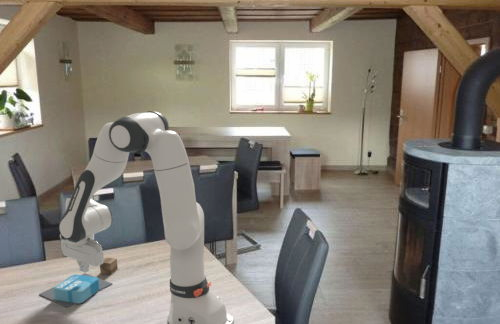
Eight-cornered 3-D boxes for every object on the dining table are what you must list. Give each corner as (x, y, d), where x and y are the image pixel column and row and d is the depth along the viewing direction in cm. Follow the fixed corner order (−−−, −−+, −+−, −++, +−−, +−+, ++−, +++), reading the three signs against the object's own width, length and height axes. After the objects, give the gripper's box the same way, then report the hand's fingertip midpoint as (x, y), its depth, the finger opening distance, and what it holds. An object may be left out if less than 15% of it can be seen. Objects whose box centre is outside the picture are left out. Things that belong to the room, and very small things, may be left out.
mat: (112, 284, 165) (112, 283, 165) (66, 307, 149) (66, 306, 148) (85, 274, 174) (85, 273, 174) (39, 294, 158) (39, 293, 158)
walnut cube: (117, 269, 178) (116, 258, 177) (111, 274, 173) (110, 263, 173) (107, 268, 179) (106, 257, 178) (100, 273, 175) (99, 262, 174)
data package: (79, 292, 149) (51, 288, 152) (80, 304, 150) (52, 299, 153) (100, 277, 160) (73, 273, 163) (101, 288, 161) (74, 284, 164)
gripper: (106, 238, 151) (109, 274, 153) (71, 228, 162) (75, 261, 164) (91, 244, 146) (95, 281, 148) (56, 233, 156) (60, 268, 159)
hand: (84, 271), depth 156 cm, fingers closed
